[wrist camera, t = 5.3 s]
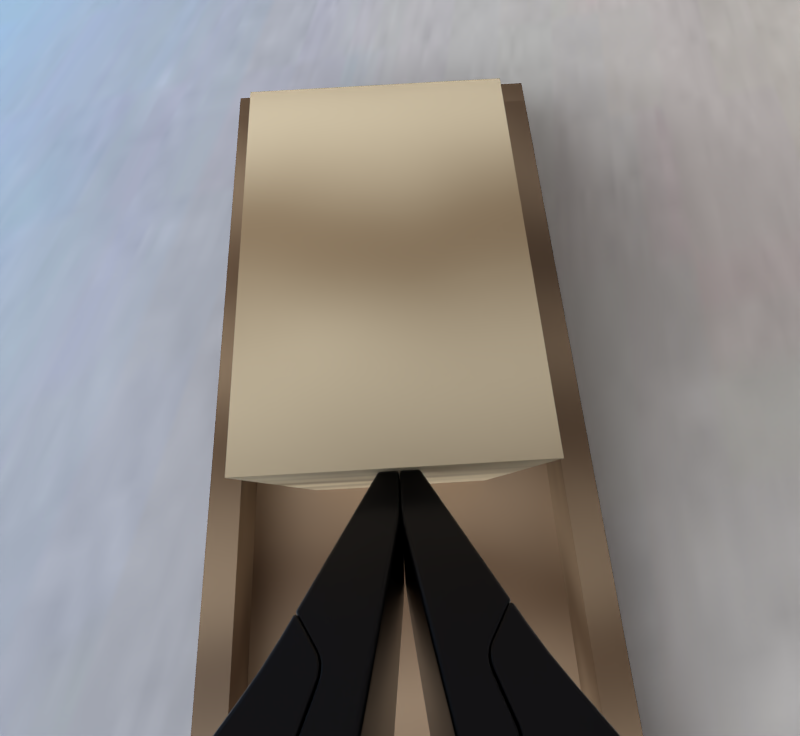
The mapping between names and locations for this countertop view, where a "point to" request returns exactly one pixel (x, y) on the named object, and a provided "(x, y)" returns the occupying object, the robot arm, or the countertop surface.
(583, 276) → the countertop surface
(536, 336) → the maple block
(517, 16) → the countertop surface
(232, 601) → the box
